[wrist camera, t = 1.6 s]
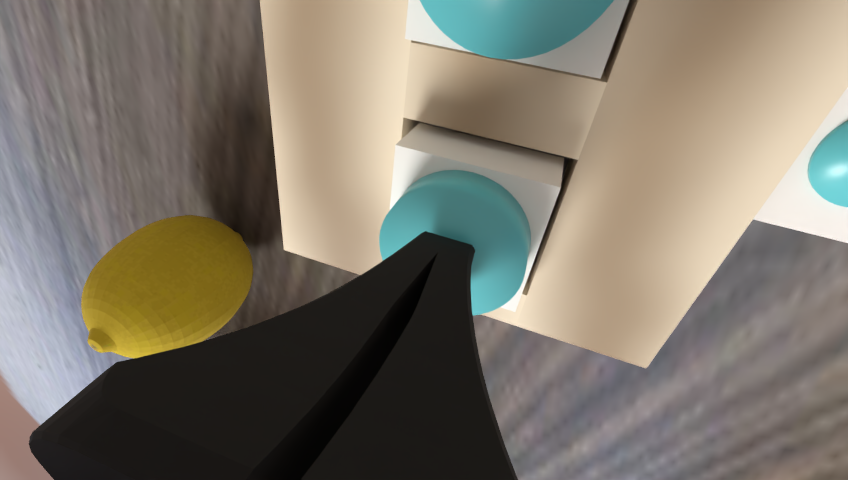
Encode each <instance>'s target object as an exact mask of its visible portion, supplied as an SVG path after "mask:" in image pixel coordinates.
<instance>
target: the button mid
mask: <svg viewBox="0 0 848 480" xmlns="http://www.w3.org/2000/svg"><path fill="white" fill-rule="evenodd" d="M628 2H629V0H408V10H407V21H406V32H405V39H408V40H413V41H418V42H423V43H428V44H433V45H438V46H442V47H447V48H452V49H457V50H462V51H467V52H472V53H476V54H479V55H482V56H486V57H490V58H497V59H506V60H511V61H516V62H521V63H526V64H531V65H536V66H540V67H545V68H550V69H555V70H560V71H565V72H570V73H575V74H580V75H585V76H589V77H594V78H599V79H601V76H602V73H603V71H604V68H605V65H606V62H607V60H608V57H609V54H610V52H611V49H612V46H613V43H614V41H615V38H616V35H617V32H618V30H619V27H620V24H621V21H622V19H623V16H624V13H625V10H626V8H627V5H628Z"/></svg>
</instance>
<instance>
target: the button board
mask: <svg viewBox="0 0 848 480" xmlns="http://www.w3.org/2000/svg"><path fill="white" fill-rule="evenodd" d="M260 6H261V16H262V27H263V37H264V48H265V58H266V68H267V79H268V89H269V100H270V110H271V121H272V131H273V141H274V152H275V162H276V173H277V183H278V194H279V204H280V214H281V225H282V235H283V246H284V250H286V251H289V252H292V253H295V254H298V255H301V256H304V257H307V258H310V259H313V260H316V261H319V262H322V263H326V264H329V265H332V266H335V267H338V268H341V269H344V270H347V271H350V272H353V273H356V274H359V275H362V274H363V273H365V272H367V271H368V270H370V269H371V268H373V267H374V266H376V265H377V264H379V263H380V262H382V261H383V260H382V256H381V253H380V246H379V235H380V229H381V226H382V223H383V221H384V219H385V217H386V215H387V214H388V212H389V211H390V200H391V189H392V178H393V167H394V155H395V145H396V144H397V143H398V142H399V141H400V140H401V139H402V138H404V137H405V136H406V135H407V134H408V133H409V132H410V131H411V130H412V129H413V128H414V127H415V126H417V125H418V124H419V123H423V124H427V125H431V126H436V127H440V128H444V129H448V130H452V131H456V132H460V133H464V134H468V135H473V136H477V137H481V138H485V139H489V140H493V141H497V142H501V143H505V144H509V145H514V146H518V147H522V148H526V149H530V150H534V151H538V152H542V153H546V154H551V155H555V156H559V157H563V158H564V164H563V173H562V182H561V188H560V191H559V194H558V197H557V199H556V202H555V205H554V208H553V210H552V213H551V216H550V218H549V221H548V224H547V227H546V229H545V232H544V235H543V238H542V240H541V243H540V246H539V249H538V251H537V254H536V257H535V260H534V262H533V265H532V268H531V270H530V273H529V276H528V279H527V281H526V284H525V287H524V290H523V292H522V295H521V298H520V301H519V303H518V306H517V309H516V311H515V312H513V311H510V310H507V309H504V308H501V307H499V308H498V309H496V310H493V311H491V312H488V313H484V314H481V315H484V316H488V317H491V318H494V319H497V320H500V321H503V322H506V323H509V324H512V325H515V326H518V327H521V328H524V329H527V330H530V331H533V332H536V333H539V334H543V335H546V336H549V337H552V338H555V339H558V340H561V341H564V342H567V343H570V344H573V345H576V346H579V347H582V348H585V349H588V350H591V351H595V352H598V353H601V354H604V355H607V356H610V357H613V358H616V359H619V360H622V361H625V362H628V363H631V364H634V365H637V366H640V367H643V368H647V367H648V365H649V364H650V362H651V361H652V360H653V358H654V357H655V355H656V354H657V353H658V351H659V350H660V348H661V347H662V346H663V344H664V343H665V341H666V340H667V339H668V337H669V336H670V334H671V333H672V332H673V330H674V329H675V328H676V326H677V325H678V323H679V322H680V321H681V319H682V318H683V316H684V315H685V314H686V312H687V311H688V309H689V308H690V307H691V305H692V304H693V302H694V301H695V300H696V298H697V297H698V295H699V294H700V293H701V291H702V290H703V288H704V287H705V286H706V284H707V283H708V281H709V280H710V279H711V277H712V276H713V274H714V273H715V272H716V270H717V269H718V267H719V266H720V265H721V263H722V262H723V260H724V259H725V258H726V256H727V255H728V253H729V252H730V251H731V249H732V248H733V246H734V245H735V244H736V242H737V241H738V240H739V238H740V237H741V235H742V234H743V233H744V231H745V230H746V228H747V227H748V226H749V224H750V223H751V221H752V220H753V219H754V217H755V216H756V214H757V213H758V212H759V210H760V209H761V207H762V206H763V205H764V203H765V202H766V200H767V199H768V198H769V196H770V195H771V193H772V192H773V191H774V189H775V188H776V186H777V185H778V184H779V182H780V181H781V179H782V178H783V177H784V175H785V174H786V172H787V171H788V170H789V168H790V167H791V165H792V164H793V163H794V161H795V160H796V158H797V157H798V156H799V154H800V153H801V152H802V150H803V149H804V147H805V146H806V145H807V143H808V142H809V140H810V139H811V138H812V136H813V135H814V133H815V132H816V131H817V129H818V128H819V126H820V125H821V124H822V122H823V121H824V119H825V118H826V117H827V115H828V114H829V112H830V111H831V110H832V108H833V107H834V105H835V104H836V103H837V101H838V100H839V98H840V97H841V96H842V94H843V93H844V91H845V90H846V89H847V87H848V0H629V2H628V5H627V8H626V10H625V13H624V16H623V19H622V21H621V24H620V27H619V30H618V32H617V35H616V38H615V41H614V43H613V46H612V49H611V52H610V54H609V57H608V60H607V62H606V65H605V68H604V71H603V73H602V76H601V79H599V78H594V77H589V76H585V75H580V74H575V73H570V72H565V71H560V70H555V69H550V68H545V67H540V66H536V65H531V64H526V63H521V62H516V61H511V60H506V59H497V58H490V57H486V56H482V55H479V54H476V53H472V52H467V51H462V50H457V49H452V48H447V47H442V46H438V45H433V44H428V43H423V42H418V41H413V40H408V39H405V32H406V21H407V10H408V0H260Z"/></svg>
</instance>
